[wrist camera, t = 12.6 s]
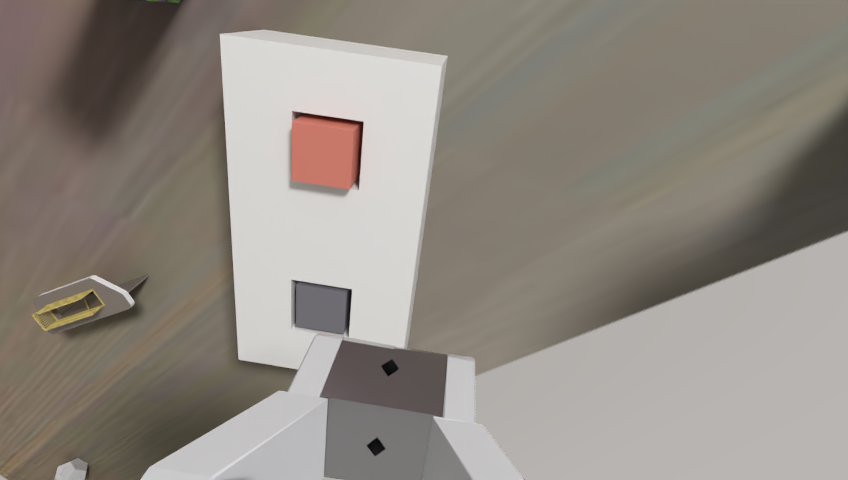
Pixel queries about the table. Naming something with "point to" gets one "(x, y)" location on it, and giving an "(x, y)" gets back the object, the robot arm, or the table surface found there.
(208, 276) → the table surface
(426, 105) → the block
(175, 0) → the syrup box
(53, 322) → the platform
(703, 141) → the table surface
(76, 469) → the grey irregular lump
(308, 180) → the red plug
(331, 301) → the gray rectangular block
